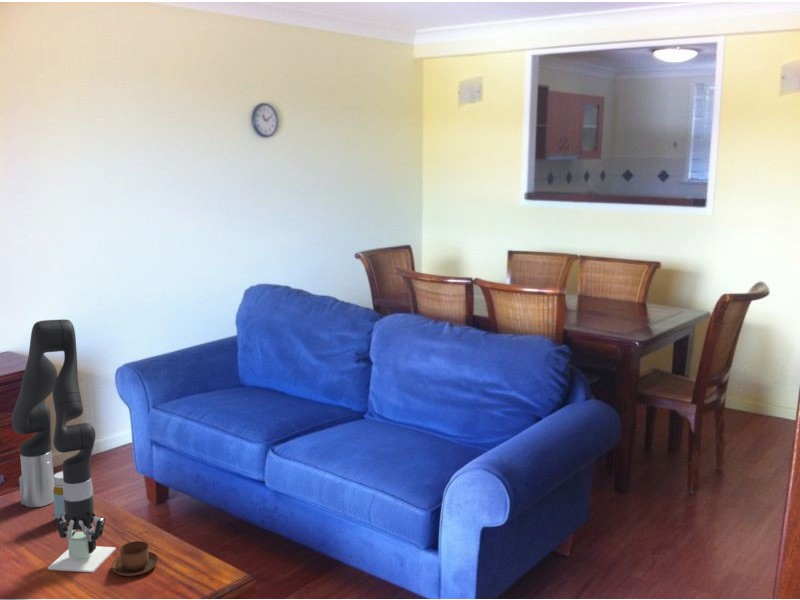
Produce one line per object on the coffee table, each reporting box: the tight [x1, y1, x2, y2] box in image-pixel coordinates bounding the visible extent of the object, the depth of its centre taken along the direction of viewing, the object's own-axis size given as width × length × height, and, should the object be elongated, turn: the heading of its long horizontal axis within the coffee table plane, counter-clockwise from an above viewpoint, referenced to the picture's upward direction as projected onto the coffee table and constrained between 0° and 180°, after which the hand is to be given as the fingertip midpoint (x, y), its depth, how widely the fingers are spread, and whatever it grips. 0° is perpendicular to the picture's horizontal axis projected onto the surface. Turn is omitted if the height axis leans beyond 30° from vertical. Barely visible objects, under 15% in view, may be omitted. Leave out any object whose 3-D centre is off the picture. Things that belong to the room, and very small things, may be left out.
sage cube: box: [67, 531, 91, 558], centre depth 211 cm, size 5×5×5 cm
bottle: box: [53, 470, 69, 525], centre depth 234 cm, size 7×7×15 cm
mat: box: [47, 545, 117, 574], centre depth 212 cm, size 13×13×1 cm
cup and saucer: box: [111, 540, 159, 577], centre depth 207 cm, size 12×12×6 cm
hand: (82, 551), depth 212 cm, fingers closed on sage cube, 4 cm apart
